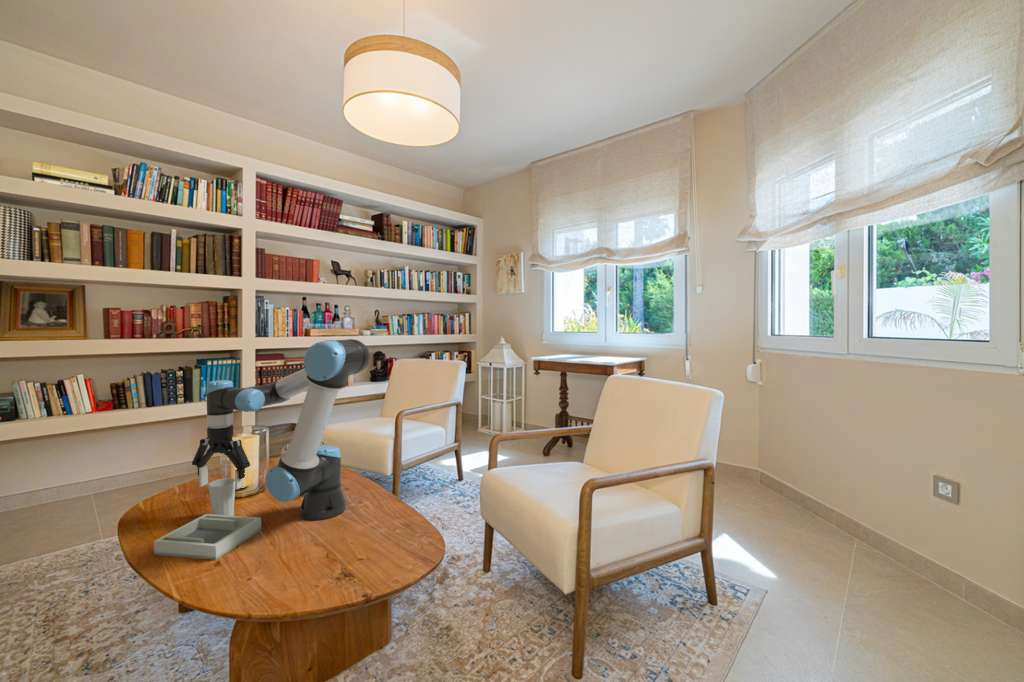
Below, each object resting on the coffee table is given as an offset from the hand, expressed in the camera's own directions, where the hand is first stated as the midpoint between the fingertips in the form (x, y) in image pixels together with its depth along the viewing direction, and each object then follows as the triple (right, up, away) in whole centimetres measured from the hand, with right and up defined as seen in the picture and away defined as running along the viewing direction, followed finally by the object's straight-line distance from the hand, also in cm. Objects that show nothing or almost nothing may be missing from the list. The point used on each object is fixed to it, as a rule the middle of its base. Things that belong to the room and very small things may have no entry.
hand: (221, 486), depth 150 cm
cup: (0, -11, 0) cm, 11 cm away
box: (+8, -11, -17) cm, 22 cm away
